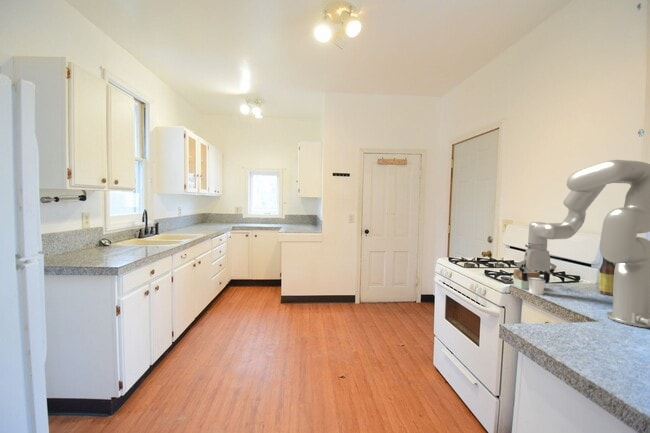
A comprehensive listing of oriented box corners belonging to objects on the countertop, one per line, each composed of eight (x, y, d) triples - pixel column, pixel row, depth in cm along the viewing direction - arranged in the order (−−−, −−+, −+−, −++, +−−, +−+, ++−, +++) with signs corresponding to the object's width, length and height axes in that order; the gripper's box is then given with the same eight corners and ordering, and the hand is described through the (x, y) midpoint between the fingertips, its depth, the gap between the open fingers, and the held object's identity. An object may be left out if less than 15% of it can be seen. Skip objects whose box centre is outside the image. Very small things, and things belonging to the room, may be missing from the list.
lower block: (538, 290, 142) (538, 281, 142) (521, 289, 144) (521, 280, 144) (529, 286, 150) (530, 277, 150) (513, 285, 152) (513, 277, 152)
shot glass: (548, 295, 134) (549, 280, 134) (534, 294, 134) (534, 280, 134) (538, 290, 141) (538, 277, 141) (524, 290, 141) (524, 277, 141)
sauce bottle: (608, 292, 139) (610, 253, 139) (620, 296, 133) (622, 255, 132) (594, 291, 140) (596, 252, 139) (606, 295, 134) (607, 255, 133)
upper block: (539, 281, 143) (539, 272, 143) (523, 281, 143) (523, 272, 143) (528, 277, 151) (528, 269, 151) (513, 277, 151) (513, 269, 151)
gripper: (521, 247, 135) (519, 282, 136) (562, 249, 132) (559, 284, 133) (514, 245, 142) (512, 278, 143) (552, 246, 139) (550, 280, 140)
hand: (535, 281), depth 138 cm, fingers open, 9 cm apart
